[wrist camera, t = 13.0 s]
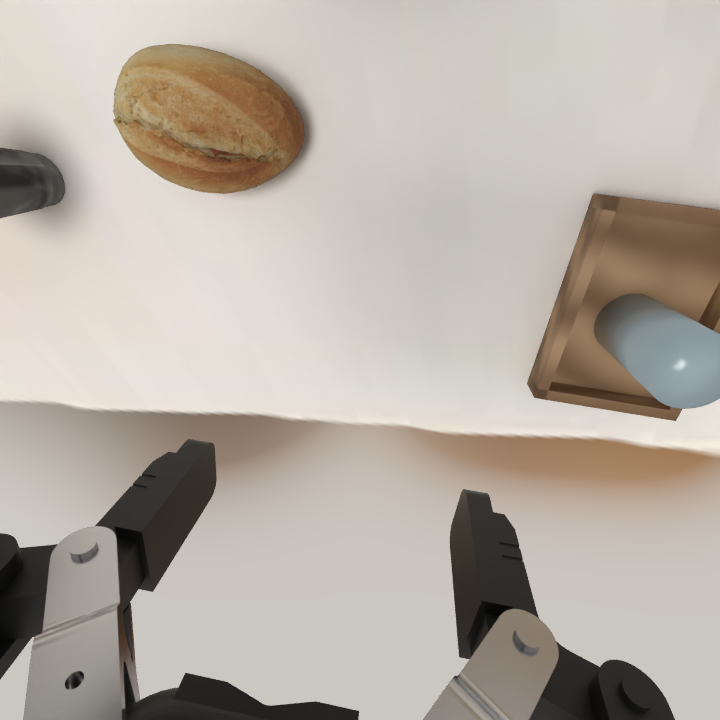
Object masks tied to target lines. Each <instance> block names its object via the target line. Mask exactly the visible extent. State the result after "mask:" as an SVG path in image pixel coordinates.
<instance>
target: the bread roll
mask: <svg viewBox="0 0 720 720" xmlns="http://www.w3.org/2000/svg"><path fill="white" fill-rule="evenodd" d="M114 96H115V98H114V110H113V112H114V115H115V118H116V119H114V123H115V124H116V126H117V127H118V129H119V132H120V134H121V135H122V137H123V139H124V141H125V143H126V145H127V146H128V148H129V149H130V150H131V151H132V153H133V154H134V155H135V157H136V158H137V159H138V160H139V161H140V162H142V163H143V164H144V165H145V166H146V167H148V168H149V169H151V170H152V171H154V172H155V173H156V174H158V175H159V176H161V177H162V178H164V179H166V180H168V181H170V182H172V183H175V184H177V185H180V186H182V187H186V188H189V189H192V190H197V191H201V192H208V193H223V194H224V193H233V192H238V191H243V190H247V189H250V188H253V187H257V186H258V185H260V184H262V183H264V182H266V181H268V180H270V179H272V178H274V177H275V176H276V175H278V174H279V173H280V172H282V171H283V170H284V169H285V168H286V167H287V166H288V165H289V164H290V163H291V162H292V161H293V160H294V159H295V157H296V156H297V155H298V153H299V151H300V149H301V146H302V144H303V140H304V127H303V122H302V119H301V117H300V114H299V112H298V111H297V109H296V107H295V105H294V103H293V102H292V100H291V99H290V97H289V96H288V95H287V94H286V93H285V92H284V91H283V89H282V88H281V87H280V86H279V85H277V84H276V83H275V82H274V81H273V80H271V79H270V78H269V77H268V76H266V75H265V74H264V73H262V72H261V71H259V70H258V69H256V68H254V67H253V66H251V65H249V64H247V63H245V62H243V61H241V60H238V59H236V58H233V57H231V56H228V55H226V54H223V53H220V52H217V51H213V50H209V49H205V48H202V47H195V46H187V45H180V44H166V45H156V46H151V47H147V48H144V49H142V50H140V51H138V52H137V53H135V54H134V55H133V56H132V57H130V58H129V60H128V61H127V62H126V63H125V65H124V66H123V68H122V70H121V73H120V75H119V78H118V81H117V85H116V88H115V93H114Z"/></svg>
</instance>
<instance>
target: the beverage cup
mask: <svg viewBox="0 0 720 720" xmlns="http://www.w3.org/2000/svg"><path fill="white" fill-rule="evenodd" d="M63 195H64V181H63V178H62V175H61V174H60V172H59V170H58V168H57V167H56V166H55V165H54V164H53V163H52V162H51V161H50V160H49V159H47V158H46V157H44V156H42V155H39V154H32V153H28V152H23V151H19V150H12V149H5V148H0V218H3V217H7V216H12V215H16V214H20V213H25V212H29V211H33V210H38V209H42V208H44V207H47V206H49V205H55V204H57V203H59V202H60V200H61V199H62V198H63Z"/></svg>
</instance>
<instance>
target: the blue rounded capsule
mask: <svg viewBox="0 0 720 720" xmlns="http://www.w3.org/2000/svg"><path fill="white" fill-rule="evenodd" d="M594 334H595V337H596V339H597V341H598V343H599V344H600V345H601V346H602V347H603V348H604V349H605V350H606V351H607V352H608V353H609V354H610V355H611V356H612V357H614V358H615V359H616V360H617V361H618V362H619V363H620V364H621V365H622V366H623V367H624V368H625V369H626V370H627V371H628V372H629V373H630V374H631V375H632V376H633V377H634V378H635V379H636V380H637V381H638V382H639V383H640V384H641V385H642V386H643V387H644V388H645V389H646V390H647V391H649V392H650V393H651V394H652V395H653V396H654V397H655V398H656V399H657V400H658V401H660V402H661V403H663V404H665V405H667V406H670V407H674V408H682V409H686V408H696V407H701V406H704V405H707V404H709V403H712V402H714V401H716V400H718V399H719V398H720V334H718V333H716V332H715V331H713V330H711V329H709V328H707V327H705V326H703V325H702V324H700V323H698V322H696V321H694V320H692V319H690V318H689V317H687V316H685V315H683V314H681V313H679V312H677V311H676V310H674V309H672V308H670V307H668V306H666V305H664V304H663V303H661V302H659V301H657V300H655V299H653V298H651V297H649V296H647V295H644V294H627V295H623V296H620V297H618V298H616V299H614V300H612V301H611V302H609V303H608V304H607V305H605V306H604V307H603V309H602V310H601V311H600V312H599V314H598V316H597V318H596V320H595V324H594Z"/></svg>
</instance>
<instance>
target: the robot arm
mask: <svg viewBox="0 0 720 720" xmlns="http://www.w3.org/2000/svg"><path fill="white" fill-rule="evenodd" d="M215 486H216V462H215V447H214V444H213V443H210V442H205V441H199V440H194V439H188V440H187V441H186V442H185V443H184V444H183V445H182V447H181V448H180V449H179V450H178V451H177V453H172V452H168V453H166V454H165V455H163V456H161V457H160V458H158V459H156V460H155V461H153V462H152V463H151V464H150V465H149V467H148V468H147V469H146V470H145V471H144V472H143V474H142V476H140V477H139V478H138V479H137V480H136V481H135V482H134V483H133V486H131V487H130V488H129V489H128V490H127V491H126V493H124V494H123V496H122V497H121V498H120V499H119V500H118V501H117V502H116V503H115V505H114V506H113V507H112V508H111V509H110V510H109V511H108V512H107V513H106V515H105V516H104V517H103V518H102V519H101V520H100V521H99V522H98V523H97V524H96V525H95V526H93V527H87V528H84V529H81V530H78V531H76V532H74V533H72V534H70V535H68V536H67V537H66V538H64V539H63V540H62V541H61V542H60V543H59V544H56V545H49V546H37V547H27V548H19V546H18V543H17V541H16V539H15V538H14V537H13V536H11V535H8V534H0V679H1V678H2V676H3V675H4V674H5V672H6V671H7V670H8V668H9V667H10V666H11V664H12V663H13V662H14V660H15V659H16V658H17V656H18V655H19V654H20V653H21V651H22V650H23V649H24V647H25V646H26V645H27V643H28V642H29V641H30V639H31V638H32V637H35V638H34V641H33V645H32V651H31V660H30V668H29V676H28V685H27V693H26V702H25V710H24V719H23V720H358V716H359V711H356V710H351V709H347V708H343V707H338V706H333V705H329V704H324V703H320V702H306V703H295V704H286V705H275V706H267V705H264V704H262V703H260V702H259V701H257V700H256V699H254V698H252V697H251V696H249V695H248V694H246V693H244V692H243V691H241V690H239V689H238V688H236V687H234V686H232V685H231V684H229V683H228V682H225V681H220V680H216V679H210V678H206V677H202V676H197V675H193V674H188V673H185V675H184V677H183V679H182V681H181V684H180V686H179V688H172V689H168V690H164V691H160V692H158V693H155V694H152V695H150V696H148V697H146V698H144V699H142V700H140V695H139V688H138V682H137V674H136V665H135V650H134V637H133V624H132V611H131V603H130V601H131V600H132V598H133V596H134V595H135V593H136V592H137V590H138V589H142V590H147V591H152V592H153V590H154V589H155V587H156V586H157V584H158V583H159V581H160V579H161V578H162V576H163V574H164V573H165V571H166V570H167V568H168V567H169V565H170V563H171V562H172V560H173V558H174V557H175V555H176V553H177V552H178V550H179V549H180V547H181V546H182V544H183V542H184V541H185V539H186V538H187V536H188V534H189V533H190V531H191V530H192V528H193V526H194V525H195V523H196V521H197V520H198V518H199V517H200V515H201V513H202V512H203V510H204V509H205V507H206V505H207V504H208V502H209V501H210V499H211V497H212V495H213V493H214V490H215ZM450 552H451V563H452V575H453V588H454V600H455V611H456V624H457V636H458V646H459V647H458V648H459V657H461V658H466V659H470V660H469V661H468V663H467V664H466V665H465V667H464V669H463V670H462V671H461V673H460V674H459V675H458V676H455V677H454V678H453V679H452V680H451V681H450V682H449V684H448V685H447V686H446V688H445V689H444V691H443V692H442V693H441V695H440V696H439V698H438V699H437V701H436V702H435V703H434V705H433V706H432V708H431V709H430V711H429V712H428V713H427V715H426V716H425V718H424V719H423V720H675V719H674V717H673V714H672V711H671V709H670V707H669V705H668V703H667V700H666V698H665V697H664V695H663V693H662V692H661V691H660V689H659V688H658V687H657V685H656V684H655V683H654V682H653V681H652V680H651V679H650V678H649V677H648V676H647V675H646V674H645V673H643V672H642V671H641V670H639V669H638V668H636V667H635V666H633V665H631V664H629V663H627V662H624V661H620V660H609V661H606V662H604V663H603V664H602V665H601V667H599V666H597V665H595V664H593V663H591V662H589V661H587V660H585V659H583V658H582V657H580V656H578V655H576V654H574V653H572V652H570V651H569V650H567V649H565V648H564V647H562V646H561V645H560V644H559V643H558V642H556V640H555V638H554V636H553V635H552V632H551V631H550V630H549V628H548V627H547V626H546V625H545V624H544V623H543V622H542V621H541V620H540V619H539V617H538V614H537V611H536V607H535V604H534V599H533V596H532V592H531V588H530V585H529V581H528V577H527V573H526V569H525V566H524V562H523V561H522V554H521V551H520V549H519V543H518V539H517V535H516V532H515V529H514V527H513V526H512V525H511V523H510V522H509V520H508V519H507V518H506V516H505V515H504V514H499V513H494V512H493V511H492V506H491V501H490V497H489V495H488V494H487V493H482V492H476V491H471V490H465V489H463V491H462V493H461V496H460V499H459V502H458V505H457V509H456V512H455V515H454V518H453V522H452V525H451V532H450Z"/></svg>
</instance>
